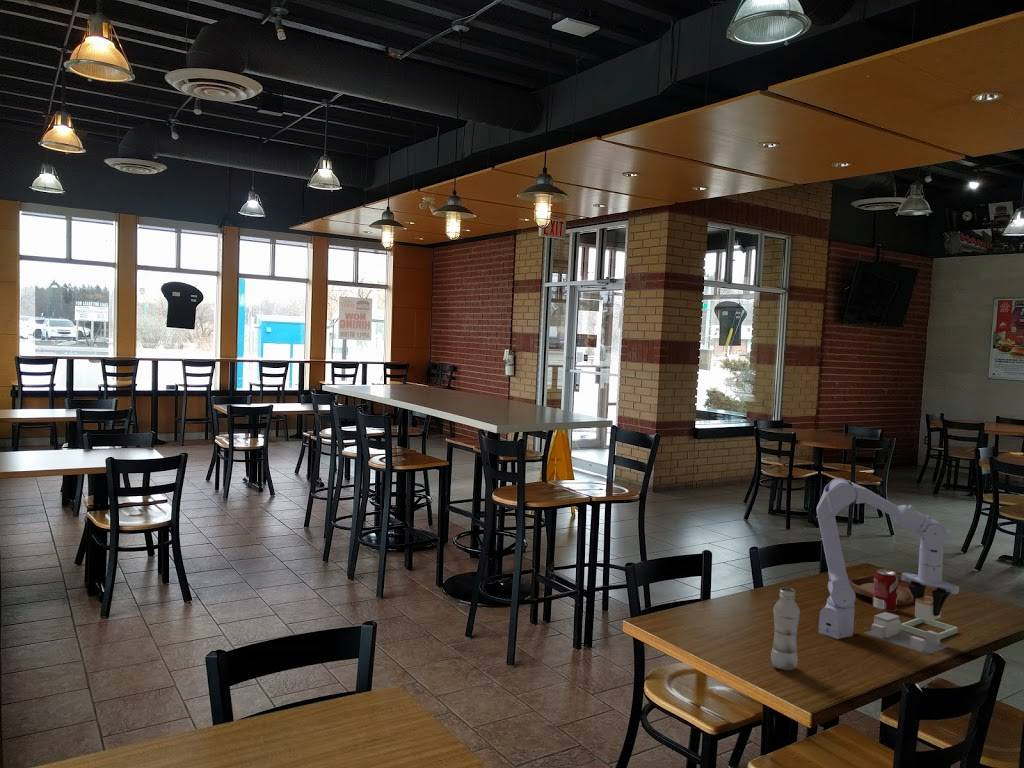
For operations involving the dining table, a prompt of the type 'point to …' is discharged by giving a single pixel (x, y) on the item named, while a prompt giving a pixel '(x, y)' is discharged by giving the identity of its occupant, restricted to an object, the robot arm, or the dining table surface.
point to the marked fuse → (925, 608)
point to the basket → (867, 586)
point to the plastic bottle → (785, 631)
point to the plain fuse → (888, 623)
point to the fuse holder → (910, 639)
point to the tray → (908, 625)
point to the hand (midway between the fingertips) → (927, 612)
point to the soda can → (885, 590)
